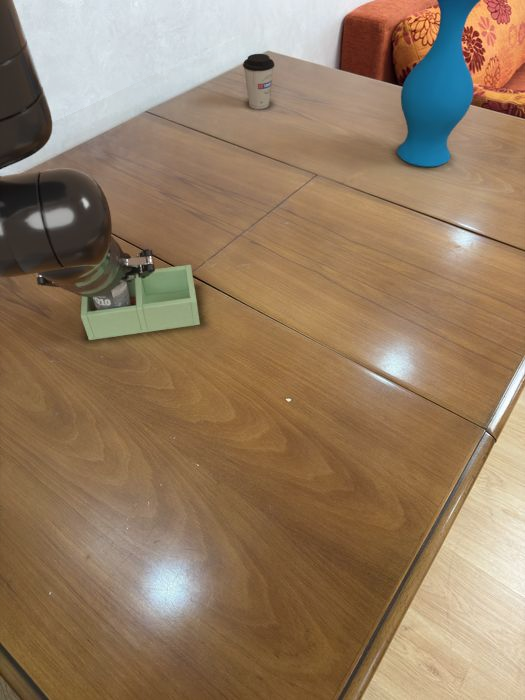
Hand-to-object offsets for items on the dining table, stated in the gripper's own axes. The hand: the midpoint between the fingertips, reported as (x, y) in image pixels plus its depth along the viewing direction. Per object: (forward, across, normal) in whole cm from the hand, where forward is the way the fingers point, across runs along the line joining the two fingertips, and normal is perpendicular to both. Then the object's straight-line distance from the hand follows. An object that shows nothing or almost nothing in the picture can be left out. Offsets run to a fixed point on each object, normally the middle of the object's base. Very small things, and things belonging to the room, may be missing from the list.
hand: (108, 276), depth 72 cm
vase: (+27, -60, -20) cm, 68 cm away
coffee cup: (+49, -33, -41) cm, 72 cm away
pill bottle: (+2, 0, +4) cm, 5 cm away
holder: (+3, -4, +5) cm, 7 cm away
